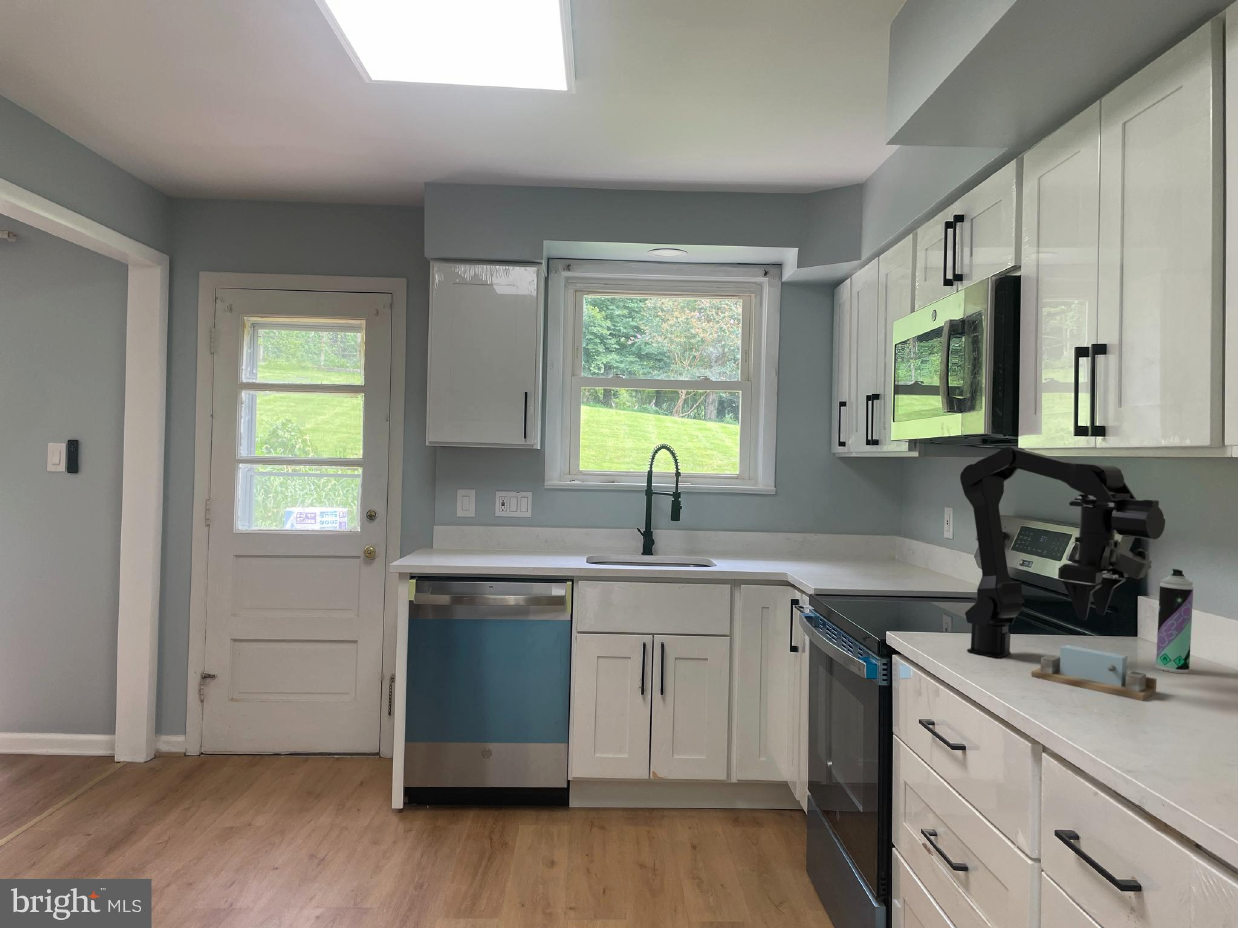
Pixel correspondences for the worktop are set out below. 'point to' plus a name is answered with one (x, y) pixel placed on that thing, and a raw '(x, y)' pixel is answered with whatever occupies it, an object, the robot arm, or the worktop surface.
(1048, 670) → the rail
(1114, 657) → the door panel
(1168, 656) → the spray can
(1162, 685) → the worktop surface
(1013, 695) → the worktop surface
